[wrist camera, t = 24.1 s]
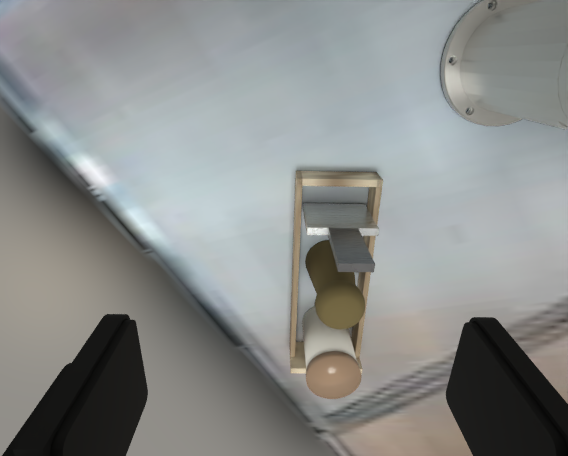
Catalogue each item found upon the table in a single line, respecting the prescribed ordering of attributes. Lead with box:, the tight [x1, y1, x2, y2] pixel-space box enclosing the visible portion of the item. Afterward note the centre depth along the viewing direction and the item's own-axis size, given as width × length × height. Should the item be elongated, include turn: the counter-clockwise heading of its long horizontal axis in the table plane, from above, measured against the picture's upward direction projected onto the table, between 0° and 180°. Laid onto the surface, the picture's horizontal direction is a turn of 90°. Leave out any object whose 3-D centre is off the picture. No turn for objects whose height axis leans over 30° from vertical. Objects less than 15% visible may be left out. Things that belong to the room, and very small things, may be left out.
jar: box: [302, 306, 361, 399], centre depth 47 cm, size 6×6×10 cm
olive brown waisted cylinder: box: [305, 240, 365, 330], centre depth 43 cm, size 6×6×11 cm
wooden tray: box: [290, 171, 383, 374], centre depth 46 cm, size 9×25×5 cm, turn 179°
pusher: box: [303, 203, 379, 272], centre depth 38 cm, size 7×1×14 cm, turn 89°
